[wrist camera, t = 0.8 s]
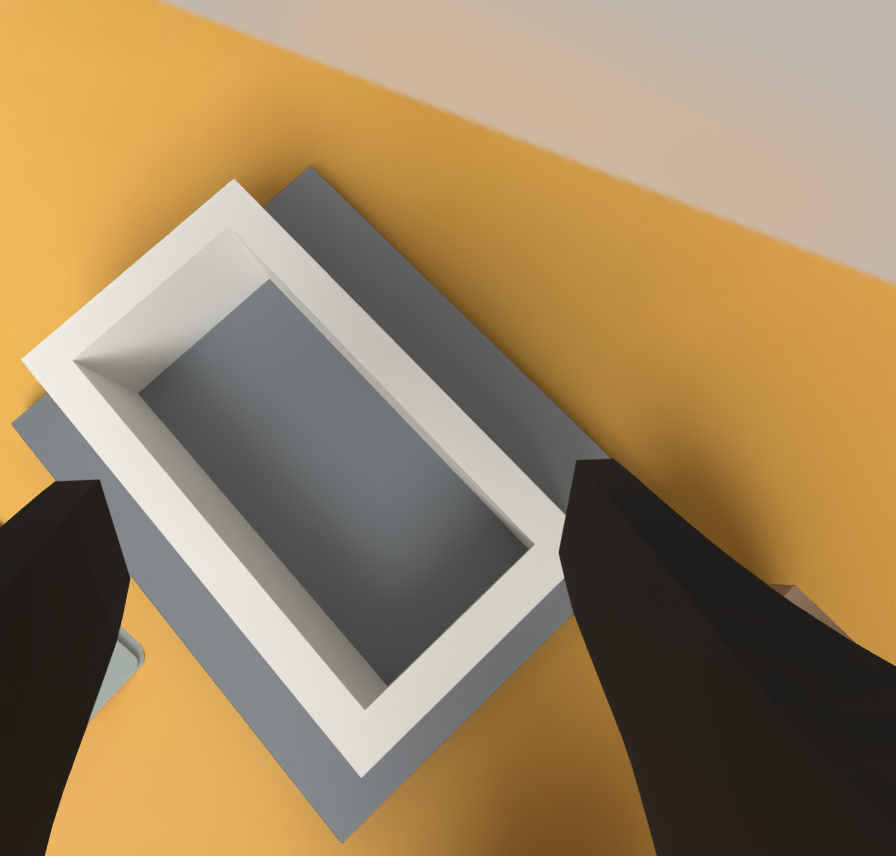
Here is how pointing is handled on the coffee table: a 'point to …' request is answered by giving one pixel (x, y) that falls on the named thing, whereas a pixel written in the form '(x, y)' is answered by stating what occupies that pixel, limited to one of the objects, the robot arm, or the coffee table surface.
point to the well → (316, 481)
